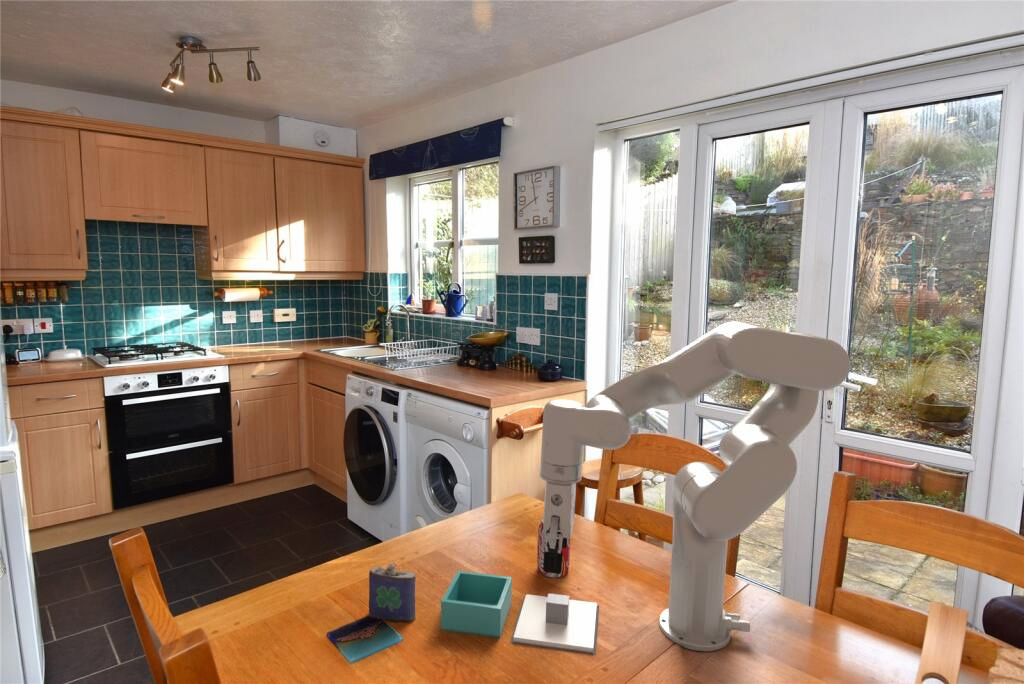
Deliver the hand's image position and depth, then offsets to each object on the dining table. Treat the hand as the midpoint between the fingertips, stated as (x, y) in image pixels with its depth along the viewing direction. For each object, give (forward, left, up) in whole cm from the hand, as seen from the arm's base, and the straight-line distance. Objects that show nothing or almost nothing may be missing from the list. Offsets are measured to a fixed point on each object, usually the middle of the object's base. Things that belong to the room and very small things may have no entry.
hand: (555, 558), depth 107 cm
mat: (-1, 0, -13) cm, 13 cm away
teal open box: (+14, +1, -13) cm, 19 cm away
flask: (+30, +4, -13) cm, 33 cm away
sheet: (-1, 0, -13) cm, 13 cm away
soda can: (+2, -19, -13) cm, 23 cm away
